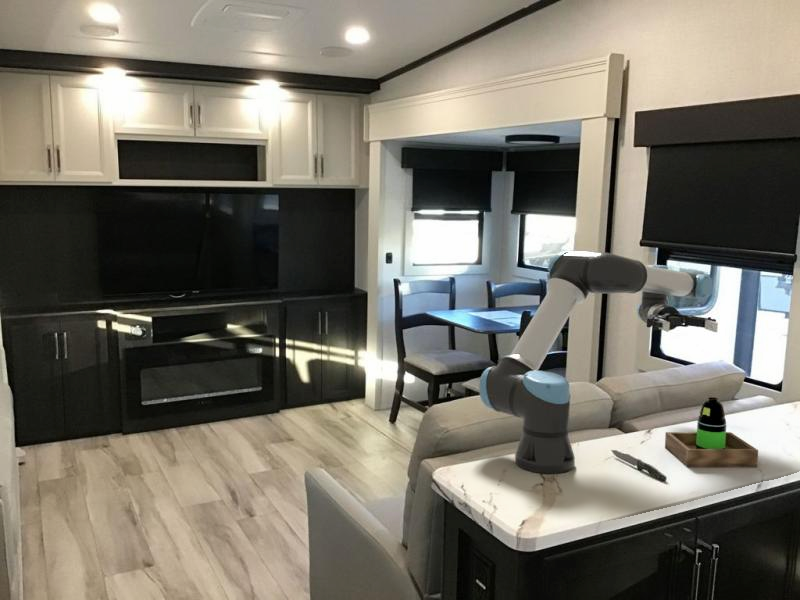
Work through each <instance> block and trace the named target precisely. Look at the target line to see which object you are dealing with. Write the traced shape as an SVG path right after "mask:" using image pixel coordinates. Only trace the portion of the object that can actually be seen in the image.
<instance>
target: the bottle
mask: <svg viewBox="0 0 800 600" xmlns="http://www.w3.org/2000/svg"><path fill="white" fill-rule="evenodd" d="M696 424H697V425H696V432H697V440H696V449H725V440H726V432H727V418H726V413H725V408H724V405H723V403H721V401H719V398H718V397H712V396H711V397H707V400H705V401H703V403H702V405H701V407H700V410H699V415H698V417H697V423H696Z"/></svg>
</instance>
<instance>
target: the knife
mask: <svg viewBox="0 0 800 600" xmlns="http://www.w3.org/2000/svg"><path fill="white" fill-rule="evenodd" d="M611 453H612V454H613V455H614V456H615V457H616V458H617V459H620V460H621V461H623V462H625V463H627V464H630V465H631V466H636V468H637V470H638V471H646V472H647V473H648V474H649V475H650V476H651V477H653V478H655V479H656V480H657V481H660V482H666V481H667V476H666V475H665V474H663V473H662V471H660V470H659V469H657V468H656V467H655V466H653V465H652V464H649V463H647V462H644V461H643V460H642V459H639V458H636V457H634V456H632V455H631V454H629V453H623V452H621V451H619V450H615V449H611Z"/></svg>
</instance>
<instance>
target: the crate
mask: <svg viewBox="0 0 800 600" xmlns="http://www.w3.org/2000/svg"><path fill="white" fill-rule="evenodd" d="M664 438H665V439H664V440H665V441H664V449H666V450H667V452H668V453H670V454H671V455H672V456H673V457H675V458H676V459H677V461H679V462H681V463H682V465H684V466H685V467H686V468H758V462H759V461H758V459H759V450H758V449H757V448H756V447H755V446H753V445H751V444H750V443H748V442H747V441H745V440H743V439H741V438H740V437H738V436H737V435H736V434H735V433H732V432H729V431H728V432H727V431H726V440H725V449H696V440H697V431H693V432H692V431H665V437H664Z"/></svg>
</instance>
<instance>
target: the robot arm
mask: <svg viewBox="0 0 800 600" xmlns="http://www.w3.org/2000/svg"><path fill="white" fill-rule="evenodd" d="M547 266H548V267H547V271H548V272H547V274H546V276H547V277H546V278H547V281H548V282H547V287H548V292H546V295H545V296H544V298H543V300H542V301H541V303H540V305H539V307H538V308H537V310H536V311H535V313H534V315H533V316H532V319H531V320H530V322H529V323H528V325H527V327H526V328H525V330H524V332H523V333H522V334H521V336H520V338H519V340H518V341H517V343H516V345H515V346H514V349H512V351H511V353H510V354H508V355H504V356H503V357H502V358H501V359H500V361H499V363H497V365H493V366H490V367H487V368H486V369H485V370H483V372H482V373H481V376H480V378H479V383H478V389H479V397H480V401H482V403H483V405H485V406H486V407H487V408H489V409H492V410H494V411H496V412H498V413H503V414H506V415H507V414H508V415H511V416H514V417H517V418H520V419H522V434H521V436H520V439H519V442H518V445H517V447H516V450H515V454H514V455H515V456H514V457H515V458H514V459H515V460H514V463H515V464H516V465H517V466H518V467H519V468H522V469H523V470H525V471H529V472H532V473H540V474H561V473H566V472H569V471H571V470H573V469H574V468H575V465H576V464H575V454H574V451H573V447H572V444H571V440H570V437H569V430H570V429H569V427H570V403H571V394H570V393H571V392H570V390H571V389H570V383H569V381H568V380H567V379H566V377H564V376H563V375H560V374H558V373H555V372H552V371H544V370H539V369H540V368H541V366H542V364H543V362H544V360H545V359H546V357H547V355H548V354H549V351H550V350H551V348H553V347H552V346H553V345H554V343H555V341H556V340H557V338H558V336H559V334H560V333H561V331H562V330H563V328H564V326H565V324H566V323H567V320H568V318H570V316H571V314H572V312H573V311H574V309H575V306H577V305H580V304H583V303H584V302H585V301H586V299H587V298H588V295H589V294H590V293H591V294H637V293H639V292H642V293H641V302H640V303H639V304H638V306H637V310H636V311H637V313H636V314H637V316H638V317H639V319H640V320H642V321H643V322H644V323H646V327H647V328H652V327H653V331H658V330H662V331H664V332H667V333H669V332H670V331H672V330H674V329H676V328H678V327H682V328H683V327H684V328H688V327H695V328H703V329H705V330H708V331H711V332H714V333H718V327H719V323H718V322H717V319H715V318H712V317H710V316H708V317H701V316H696V315H692V314H690V315H688V314H687V315H686V314H681V313H680V311H679V310H678V309H677V308H675V306H671V305H667V296H669V297H681V298H690V299H696V300H698V299H699V300H700V299H701V300H705V299H708V298H709V297H710V296H711V294H712V292H713V286H714V284H713V280H712V278H711V276H710V275H707V274H702V273H691V272H685V271H679V270H674V269H669V268H668V266H667V265H663V264H661V265H660V264H648V265H645V264H644V263H643V262H641V261H640V260H638V259H637V260H636V259H633V258H629V257H626V256H621V255H618V254H614V253H609V252H597V251H579V250H574V249H573V250H572V249H571V250H565V251H561V252H559V253H557V254H556V255H554V257H553V258H552V259H551V260H550V262H549V264H548V265H547Z"/></svg>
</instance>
